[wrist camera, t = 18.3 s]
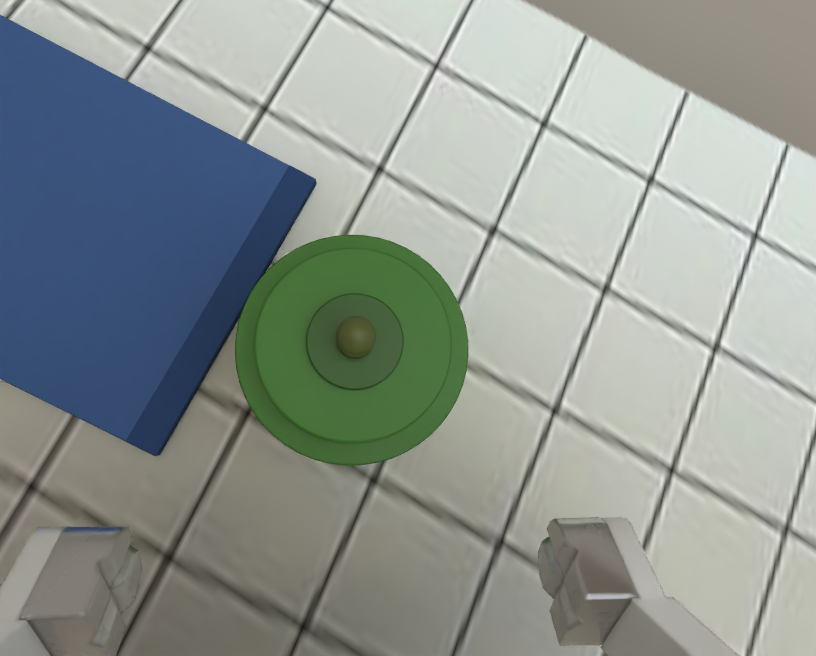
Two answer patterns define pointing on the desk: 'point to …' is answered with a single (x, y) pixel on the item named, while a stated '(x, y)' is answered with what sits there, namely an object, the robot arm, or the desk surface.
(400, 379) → the green lidded canister
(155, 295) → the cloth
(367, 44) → the desk surface
